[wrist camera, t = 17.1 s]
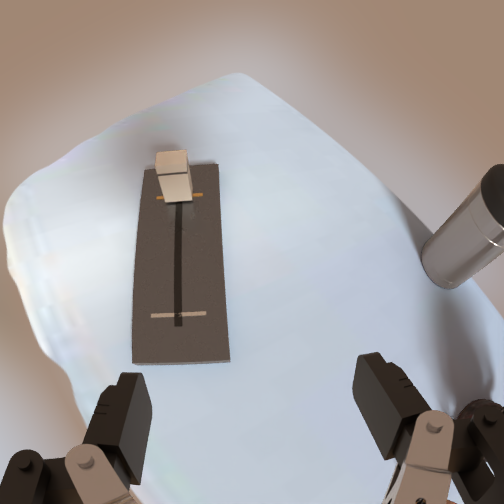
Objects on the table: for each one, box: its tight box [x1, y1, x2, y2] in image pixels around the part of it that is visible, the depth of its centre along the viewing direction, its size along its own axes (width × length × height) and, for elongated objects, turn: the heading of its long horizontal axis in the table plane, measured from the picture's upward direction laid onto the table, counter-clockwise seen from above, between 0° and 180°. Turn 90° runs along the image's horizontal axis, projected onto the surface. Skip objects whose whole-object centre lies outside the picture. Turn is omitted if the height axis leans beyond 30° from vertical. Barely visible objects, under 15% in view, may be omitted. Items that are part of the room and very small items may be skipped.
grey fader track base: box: [132, 164, 230, 365], centre depth 44 cm, size 30×12×2 cm, turn 5°
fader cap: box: [155, 150, 193, 202], centre depth 43 cm, size 2×4×8 cm, turn 95°
